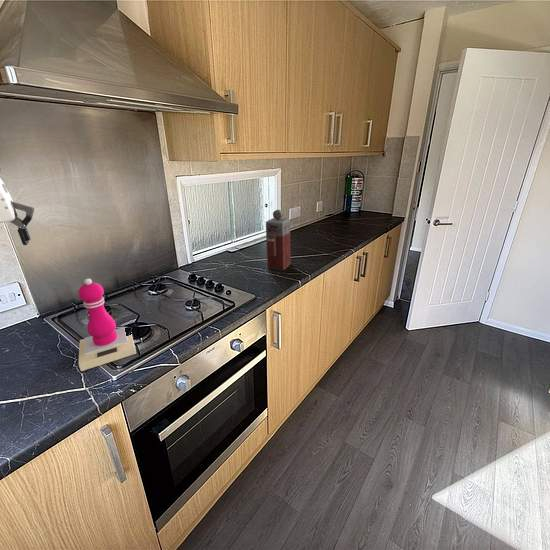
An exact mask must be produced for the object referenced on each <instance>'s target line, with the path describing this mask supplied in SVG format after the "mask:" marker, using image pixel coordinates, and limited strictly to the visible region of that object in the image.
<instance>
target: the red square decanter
mask: <svg viewBox="0 0 550 550" xmlns="http://www.w3.org/2000/svg"><path fill="white" fill-rule="evenodd" d="M272 217H273V218H270V219H268V220H267V221H265V235H266V236H265V239H266V240H265V241H266V260H267V261H266V263H267V269H272V270H279V271H285V270H286V269H287V268H288V267H290V265H292V264H291V263H292V262H291V219H290V218H287V217H284V213H283V211H282V210H281V209H276V210H274V211H273V212H272ZM283 217H284V218H283Z"/></svg>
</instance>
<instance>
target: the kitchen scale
mask: <svg viewBox="0 0 550 550" xmlns="http://www.w3.org/2000/svg"><path fill="white" fill-rule="evenodd" d="M125 327H126V326H123V327H119V328H115V331H116V333H117V339H116V340H115V341H114V342H112V343H110V344H108V345H104V346H97V345H95V344H94V342H93V339H92V338H93V337H92V336H91V335H89V336H86V337H84V338H83V339H80V340H79V346H78V347H79V350H78V367H79V370H80V372H83V371H86V370H89V369H94V368H96V367H99V366H102V365H106V364H109V363H111V362H115V361H118V360H121V359H123V358H128V357H130V356H133V355H136V354H137V350H136V346H135V341H134V337H133V333H132V334H131V335H129V336H126V332H125Z"/></svg>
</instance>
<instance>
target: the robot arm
mask: <svg viewBox="0 0 550 550" xmlns="http://www.w3.org/2000/svg"><path fill="white" fill-rule="evenodd" d="M1 170H2V169H1V168H0V172H1ZM18 210H19V211H22V212H25V215H24V218H23V219H22V218H20V217H18V216H19V212H18ZM34 213H35V207H33V206H29V205H26V204H22V203H18V202H16V201H14V200H13V197H12V196H11V194H10V192H9V189H8V188H7V185H5V183H4V181H3V180H2V177H0V224H3V223H11V224H13V225H14V226H16V227H17V233H18V236H19V238H20V241H21V244H22V245H23V246H28V244H30V241H31V236H30V233H29V231H28V228H27V226H28V225H29V224H30V222H31V221H32V220H33V216H34Z"/></svg>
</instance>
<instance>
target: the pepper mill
mask: <svg viewBox="0 0 550 550" xmlns="http://www.w3.org/2000/svg"><path fill="white" fill-rule="evenodd" d="M104 292H105V291H104V288H103V286H102V285H101V284H100V283H98V282H93V281H92V279H91V278H88V277H87V278H85V279H84V280H83V284H82V285H81V286H80V288H79V289H78V294H77V295H78V297H79V299H80V300H81V301H83V302H82V303H83V306H84V308H86V309H87V313H88V321H87V333H88V335H89V336H92V337H93V338H92V339H93V342H94V344H95V345H97V346H104V345H108V344H110V343H112V342H114V341H115V340H116V339H117V333H116V331H115V329H117V328H116V327H117V324H116V321H115V319H114V318H113V317H112V315H111V314H110V313H109V312H107V310H106V308H105V305H104V304H105V302H106V301H105V297H104V294H105V293H104Z"/></svg>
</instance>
